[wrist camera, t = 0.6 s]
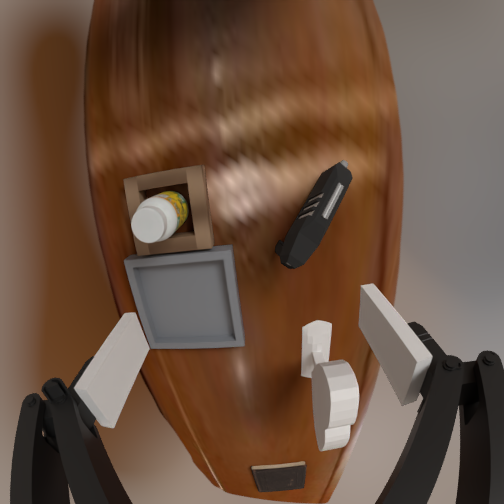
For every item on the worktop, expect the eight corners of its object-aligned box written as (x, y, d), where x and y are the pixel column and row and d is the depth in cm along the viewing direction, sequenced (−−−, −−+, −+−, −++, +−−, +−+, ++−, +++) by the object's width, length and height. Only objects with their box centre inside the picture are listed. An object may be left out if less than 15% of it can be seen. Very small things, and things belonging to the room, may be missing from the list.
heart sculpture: (326, 379, 47) (347, 454, 30) (300, 382, 47) (315, 460, 30) (332, 313, 42) (369, 393, 25) (302, 317, 42) (327, 402, 25)
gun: (325, 184, 41) (363, 163, 32) (275, 272, 38) (309, 272, 28) (311, 173, 41) (347, 149, 31) (259, 261, 37) (288, 257, 28)
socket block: (130, 177, 35) (123, 179, 33) (204, 164, 35) (200, 165, 32) (143, 250, 39) (137, 255, 36) (214, 242, 38) (212, 248, 36)
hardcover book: (305, 459, 60) (306, 465, 58) (303, 483, 67) (303, 488, 65) (250, 464, 61) (250, 470, 58) (258, 487, 68) (258, 492, 66)
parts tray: (130, 254, 39) (123, 260, 37) (232, 244, 38) (231, 250, 36) (154, 340, 44) (150, 348, 42) (244, 336, 44) (244, 346, 41)
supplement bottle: (152, 191, 36) (123, 201, 27) (188, 189, 36) (168, 199, 27) (155, 228, 38) (128, 249, 29) (190, 227, 38) (171, 249, 29)
